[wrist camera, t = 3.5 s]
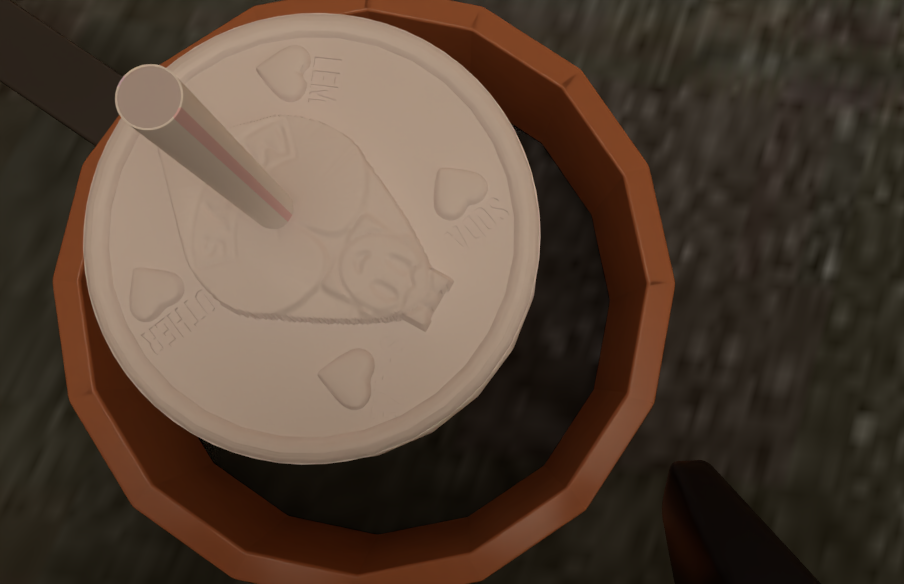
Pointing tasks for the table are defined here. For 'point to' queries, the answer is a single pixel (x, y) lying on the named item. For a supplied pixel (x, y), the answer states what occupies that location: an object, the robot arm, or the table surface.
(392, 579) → the copper pot
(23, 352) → the table surface
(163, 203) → the smoothie
